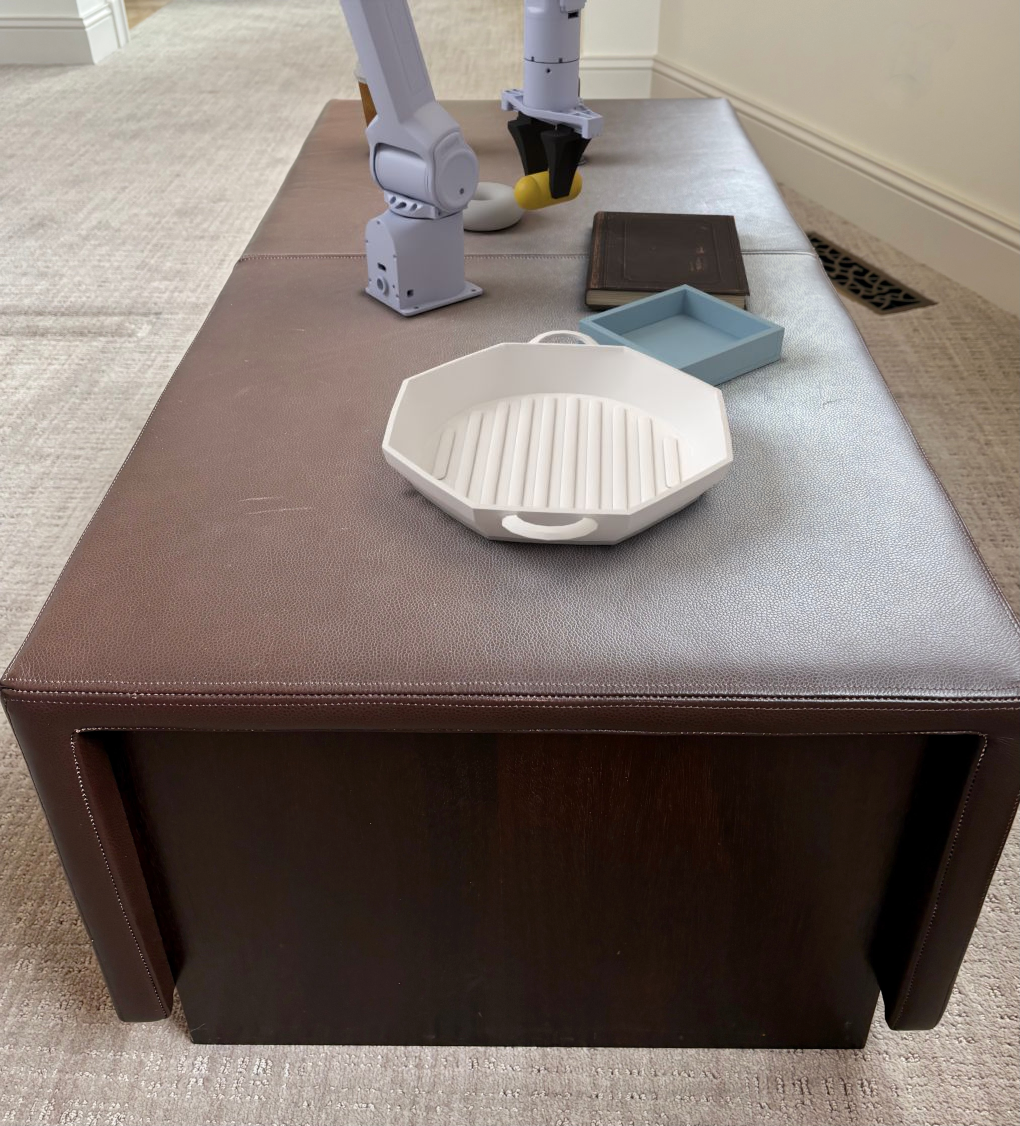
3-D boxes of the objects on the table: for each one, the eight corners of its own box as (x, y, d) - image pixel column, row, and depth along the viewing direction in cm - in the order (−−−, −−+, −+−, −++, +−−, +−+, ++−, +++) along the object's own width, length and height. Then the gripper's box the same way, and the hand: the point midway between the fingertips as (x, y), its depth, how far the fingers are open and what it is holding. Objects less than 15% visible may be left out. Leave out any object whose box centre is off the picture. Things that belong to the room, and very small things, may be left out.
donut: (521, 237, 123) (528, 206, 131) (521, 208, 121) (528, 178, 128) (435, 234, 124) (447, 204, 131) (433, 205, 121) (446, 176, 129)
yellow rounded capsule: (527, 217, 114) (527, 183, 112) (507, 208, 117) (507, 175, 115) (588, 201, 119) (589, 168, 116) (567, 193, 121) (568, 160, 119)
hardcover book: (731, 235, 123) (733, 215, 122) (746, 315, 105) (750, 292, 103) (592, 230, 124) (593, 210, 123) (583, 309, 106) (584, 286, 104)
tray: (672, 403, 91) (676, 370, 89) (577, 351, 99) (578, 320, 97) (780, 359, 97) (785, 327, 96) (682, 313, 105) (685, 284, 104)
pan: (422, 369, 96) (419, 323, 93) (707, 378, 95) (712, 332, 92) (357, 580, 71) (351, 527, 69) (741, 597, 70) (750, 543, 67)
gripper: (628, 64, 106) (620, 201, 114) (537, 40, 115) (535, 169, 123) (574, 75, 103) (569, 215, 111) (485, 49, 112) (486, 180, 120)
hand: (548, 192), depth 117 cm, fingers closed on yellow rounded capsule, 3 cm apart
